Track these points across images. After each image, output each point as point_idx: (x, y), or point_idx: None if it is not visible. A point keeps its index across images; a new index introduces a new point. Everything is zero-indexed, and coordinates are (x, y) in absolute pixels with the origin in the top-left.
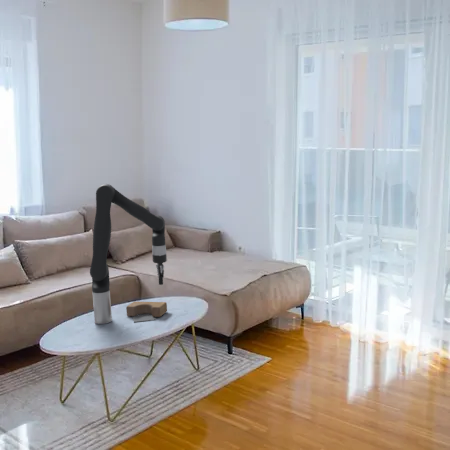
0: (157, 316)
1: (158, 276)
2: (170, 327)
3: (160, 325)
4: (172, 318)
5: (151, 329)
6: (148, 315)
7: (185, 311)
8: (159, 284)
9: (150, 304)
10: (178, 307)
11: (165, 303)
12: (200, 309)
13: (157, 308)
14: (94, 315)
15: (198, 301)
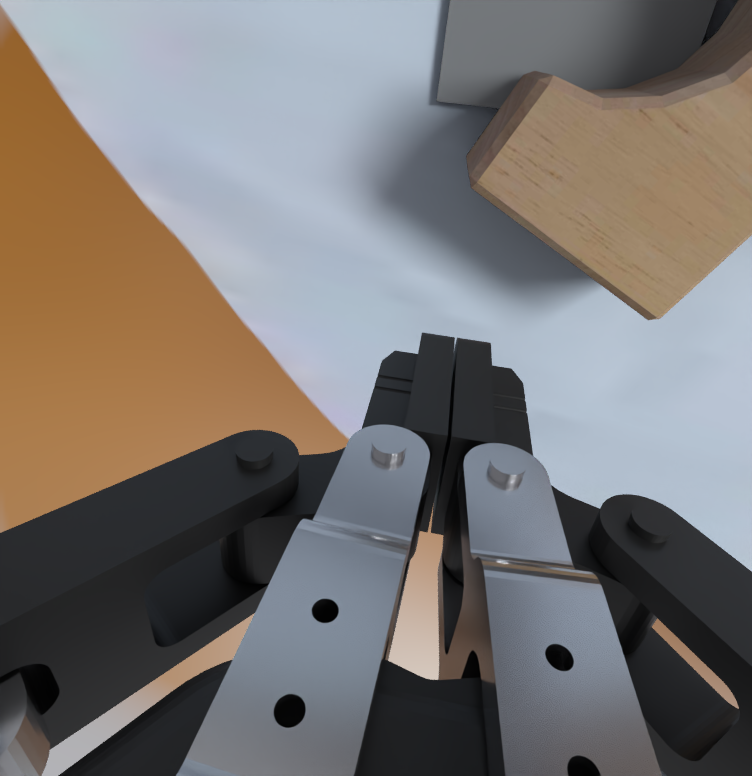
0: (484, 131)
1: (375, 466)
2: (172, 186)
3: (252, 104)
4: (406, 271)
5: None
6: (629, 33)
7: (532, 418)
8: (423, 339)
9: (710, 90)
10: (684, 406)
11: (624, 300)
12: None
13: (485, 153)
14: None
15: None
